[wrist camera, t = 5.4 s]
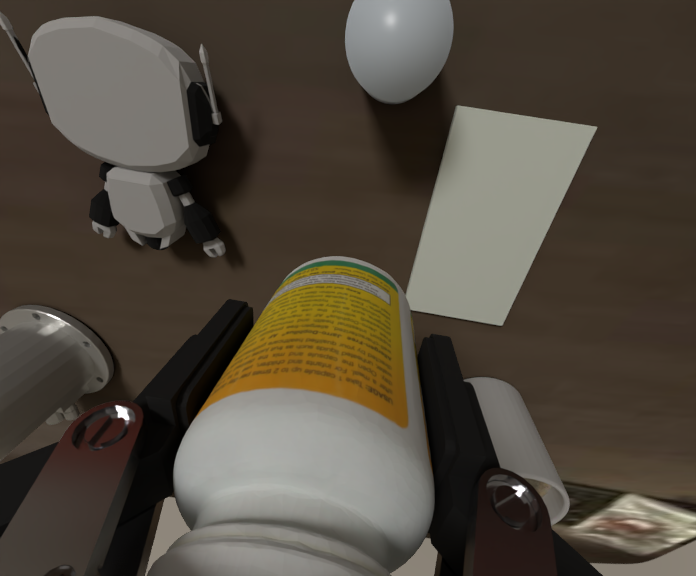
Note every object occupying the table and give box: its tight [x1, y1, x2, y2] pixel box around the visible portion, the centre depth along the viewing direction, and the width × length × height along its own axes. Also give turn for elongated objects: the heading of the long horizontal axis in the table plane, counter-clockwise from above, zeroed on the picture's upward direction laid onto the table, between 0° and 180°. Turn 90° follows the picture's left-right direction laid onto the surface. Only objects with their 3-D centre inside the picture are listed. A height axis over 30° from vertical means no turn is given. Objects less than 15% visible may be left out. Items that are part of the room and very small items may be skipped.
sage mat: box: [405, 106, 597, 326], centre depth 24 cm, size 16×9×1 cm, turn 172°
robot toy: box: [0, 12, 226, 257], centre depth 23 cm, size 12×4×15 cm
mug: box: [463, 377, 570, 525], centre depth 30 cm, size 11×10×10 cm
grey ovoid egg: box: [345, 0, 453, 104], centre depth 17 cm, size 5×5×6 cm
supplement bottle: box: [147, 256, 435, 576], centre depth 8 cm, size 5×5×10 cm
